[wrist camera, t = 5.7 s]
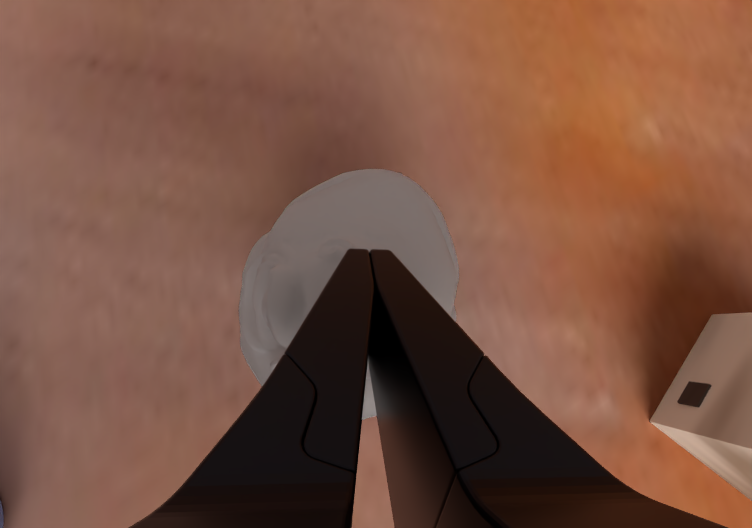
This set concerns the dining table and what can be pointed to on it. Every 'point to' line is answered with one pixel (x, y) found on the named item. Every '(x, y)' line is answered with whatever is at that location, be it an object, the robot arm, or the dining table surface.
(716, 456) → the birch pip block
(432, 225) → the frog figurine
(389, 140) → the dining table surface
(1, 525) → the decorative dice
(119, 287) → the dining table surface
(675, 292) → the dining table surface
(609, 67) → the dining table surface
